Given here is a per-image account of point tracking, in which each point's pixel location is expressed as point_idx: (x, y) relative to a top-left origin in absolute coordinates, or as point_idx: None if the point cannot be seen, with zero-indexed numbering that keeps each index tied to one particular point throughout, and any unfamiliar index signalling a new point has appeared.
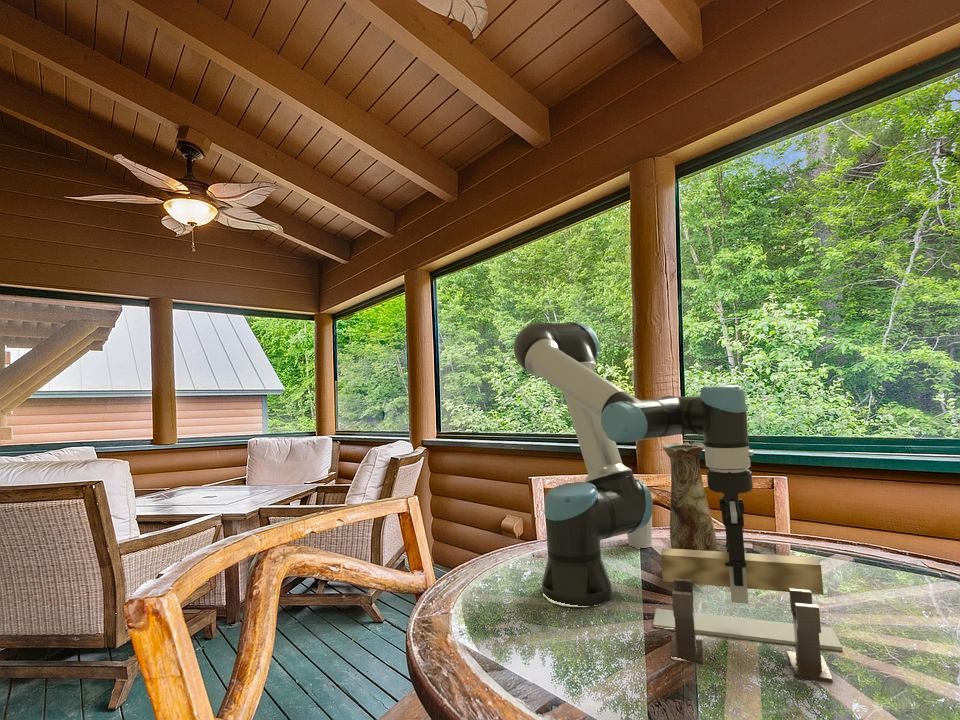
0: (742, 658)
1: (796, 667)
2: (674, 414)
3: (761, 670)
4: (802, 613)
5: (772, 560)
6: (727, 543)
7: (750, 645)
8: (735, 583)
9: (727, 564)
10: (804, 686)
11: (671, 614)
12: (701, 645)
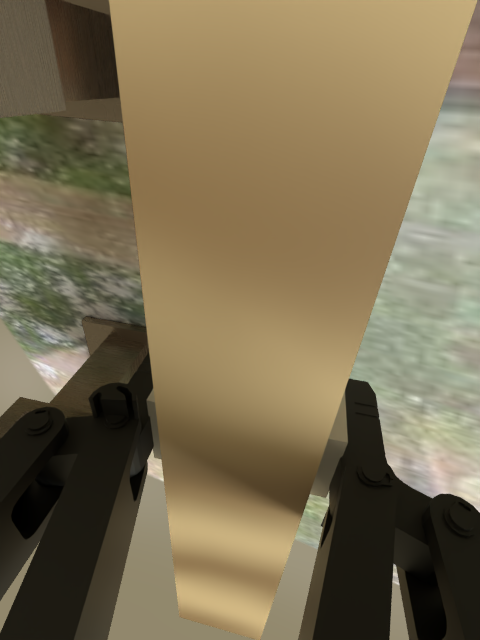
0: (119, 233)
1: (106, 331)
2: None
3: (83, 263)
4: None
5: (195, 560)
6: (330, 544)
7: None
8: (148, 354)
9: (96, 402)
10: (63, 321)
11: None
12: (119, 119)
